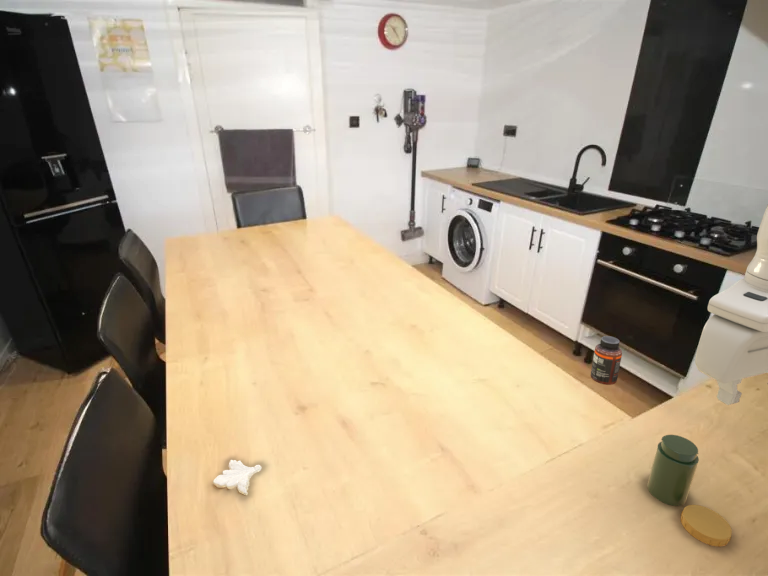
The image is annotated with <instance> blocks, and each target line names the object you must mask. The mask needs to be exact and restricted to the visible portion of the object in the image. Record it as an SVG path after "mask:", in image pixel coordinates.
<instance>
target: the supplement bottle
mask: <svg viewBox="0 0 768 576" xmlns="http://www.w3.org/2000/svg"><path fill="white" fill-rule="evenodd" d="M620 343H621V342H620V340H619V339H618V338H617V337H614V336H610V335H606V336H605V335H604V336H602V337H601V338H600V342H599V343H598V344H597V345H595V347H594V352H593V359H592V363H591V370H590V378H591V380H592V381H594V382H596V383H598V384H601V385H605V386H612V385H615V384H617V382H618V377H619V371H620V367H621V362H622V357H623V350H622V348H620Z"/></svg>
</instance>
